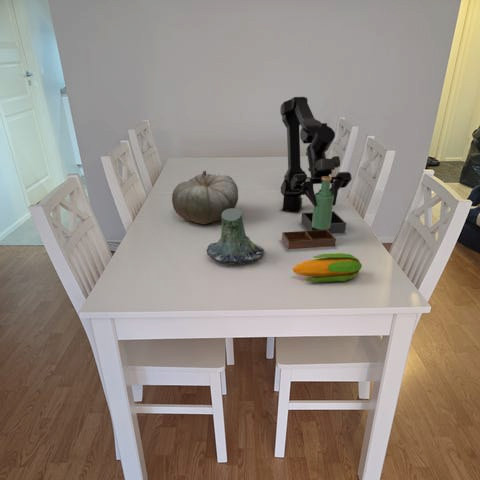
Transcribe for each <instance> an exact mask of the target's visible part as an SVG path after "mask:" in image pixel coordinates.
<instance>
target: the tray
mask: <svg viewBox="0 0 480 480" xmlns="http://www.w3.org/2000/svg"><path fill="white" fill-rule="evenodd" d="M312 219H313V211H312V212H311V211H310V212H302V213H301V221H300V222H301V225H303V226H304V228H305V229H306V231H313V230H319V229H315V228H313V227H312ZM346 228H347V222H346V221H345V220H344V219H343V218H342V217H341V216H339V214H338V213H336V211H334V210H332V217H331V225H330V228H329V229H326V230H328V231H329V232H330V233H331V234H332V235H334V234H346Z"/></svg>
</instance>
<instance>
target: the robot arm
mask: <svg viewBox="0 0 480 480" xmlns="http://www.w3.org/2000/svg"><path fill="white" fill-rule="evenodd" d="M279 111H280V116H281V122H282V123H283V124H284V126H285V128H286V143H287V146H286V147H287V171H286V172H285V174H284V175H283V177H284V178H283V181H282V184H281V185H280V193H281V195H282V196H283V202H282V208H281V211H282V212H289V213H299V212H300V210H301V209H302V206H303V197H302V196H305V197H306V198H307V199H308V200H309V201H310V203H311V204H312V206H313V208H314V207H316V198H315V194H316V193H315V190H314V185H320V184H321V185H322V179H321V178H322V176H331V175H332V174H333V171H335V170H336V169H337V168H339V167H341V158H340V156H338V155H335V156H332V157H331V158H327V155H326V152H327V151H328V150H329V148H330V147H331V145H332V143H333V142H334V140H335V138H336V132H335V131H334V129H332V128H331V127H330V126H328V123H327V122H321V121H320V120H318V119H316V118H315V116H314V114H313V112H312V110H311V107H310V105H309V103H308V97H306V96H294V97H292V98H290V99H288V100H285V101H283V102H282V104H281V105H280V109H279ZM300 127H301V129H300ZM301 142H302V144H303V145H305V144H306V145H307V144H308V145H307V147H306V152H305V156H307V162H308V166H309V167H308V168H307V169H308V170H307V171H308V172H309V174H310V176H308V174H307V173H306V171H305V170H303V169H302V167H301ZM331 177H332V179H331V181H330V190H331V193H332V194H334V202H333V207H334V206H336V203H337V198H338V193H339V190H340V189H344V188H346V187H347V186H348V185H349V184H350V182H351V181H352V179H353V177H352V174H351V172H349V171H338V172H337V174H336V175H335V176H331Z"/></svg>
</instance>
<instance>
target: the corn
mask: <svg viewBox="0 0 480 480" xmlns="http://www.w3.org/2000/svg"><path fill="white" fill-rule="evenodd" d="M312 258H313V259H310V260H306V261H302V262H300V263H297V264H296V265H294V266H293V268H292V271H293V273H295V274H296V275H300V276H304V277H308V278H305V279H304V281H305V282H313V283H331V282H332V283H333V282H346V281H348V280H351V279H353V278H354V277H355V276H356V275H357V274H358V273H359V272H360V271H361V269H362V267H363V265H362V263H361V261H360V260H359V258H357V257H355V256H354V255H353V254H349V253H341V252H340V253H339V252H336V253H321V254H317V255H314V256H313V255H312Z"/></svg>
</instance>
